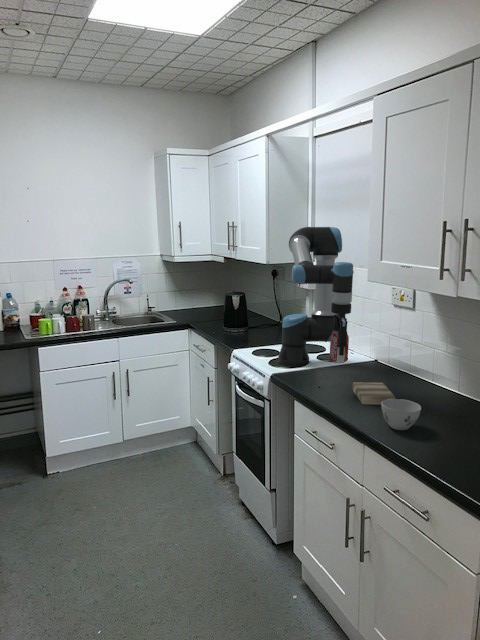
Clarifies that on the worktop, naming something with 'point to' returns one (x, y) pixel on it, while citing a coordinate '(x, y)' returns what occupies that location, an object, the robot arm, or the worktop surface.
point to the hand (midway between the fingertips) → (338, 360)
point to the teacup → (400, 413)
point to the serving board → (372, 392)
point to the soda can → (334, 347)
